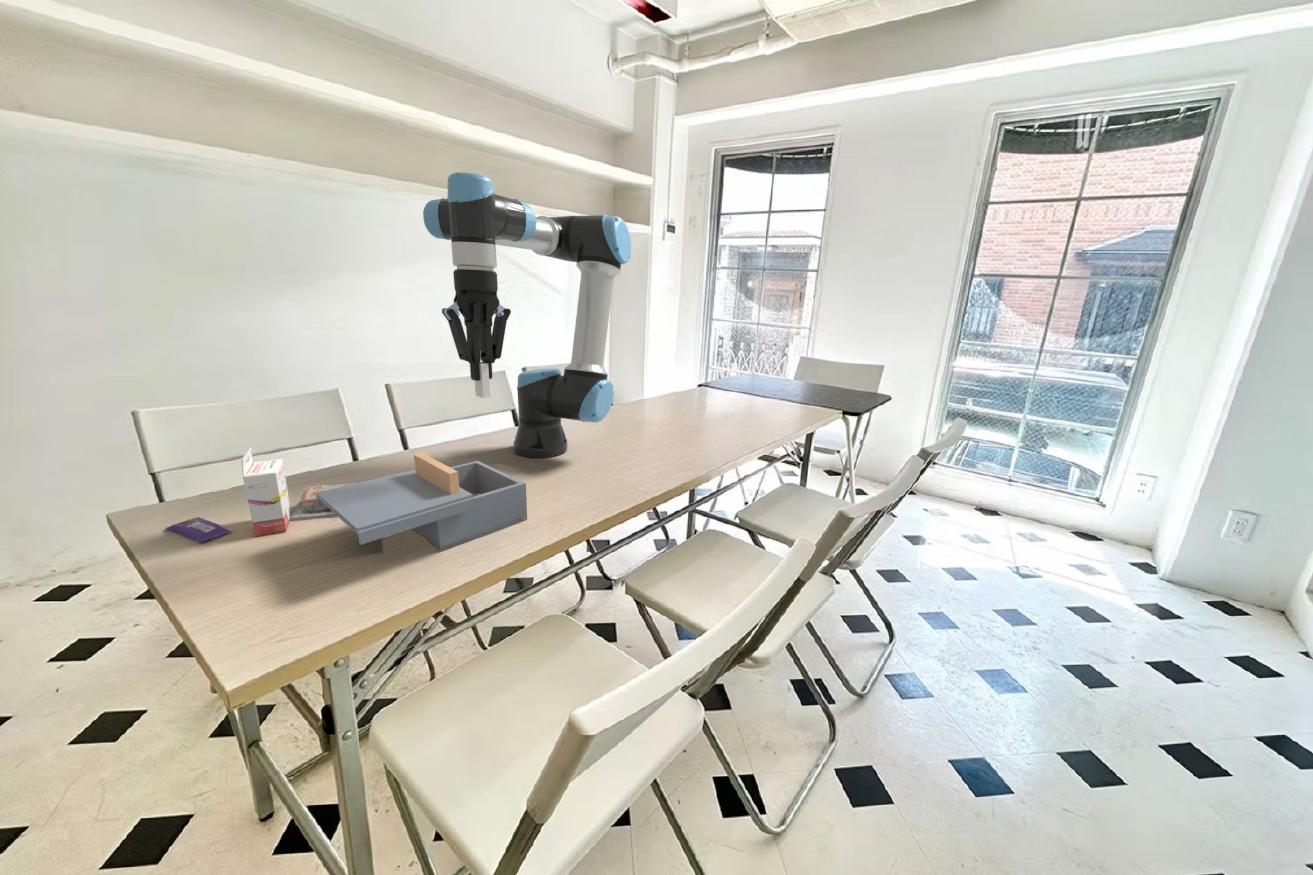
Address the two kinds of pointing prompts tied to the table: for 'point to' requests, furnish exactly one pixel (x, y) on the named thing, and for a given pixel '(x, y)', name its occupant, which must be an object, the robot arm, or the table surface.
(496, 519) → the open gray box
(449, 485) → the lid
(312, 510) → the packaged product
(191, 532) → the snack package
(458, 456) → the table surface
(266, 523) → the ink cartridge box
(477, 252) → the robot arm
